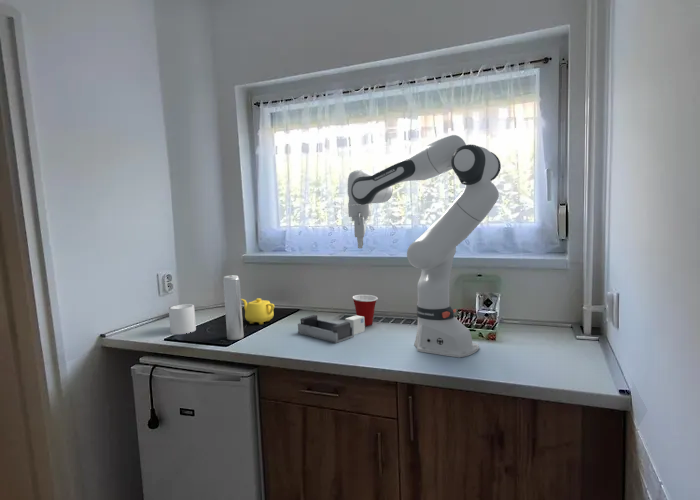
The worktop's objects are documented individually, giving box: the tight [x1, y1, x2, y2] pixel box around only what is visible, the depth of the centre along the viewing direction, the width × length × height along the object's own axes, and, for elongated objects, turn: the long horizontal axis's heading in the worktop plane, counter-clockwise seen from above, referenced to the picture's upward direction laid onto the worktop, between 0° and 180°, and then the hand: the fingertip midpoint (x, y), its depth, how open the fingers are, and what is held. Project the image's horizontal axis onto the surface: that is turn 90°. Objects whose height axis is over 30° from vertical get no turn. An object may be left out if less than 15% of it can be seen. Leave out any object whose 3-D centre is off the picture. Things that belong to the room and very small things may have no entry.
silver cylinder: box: [222, 274, 245, 341], centre depth 174 cm, size 6×6×25 cm
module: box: [344, 314, 366, 336], centre depth 176 cm, size 5×6×6 cm
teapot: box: [241, 297, 275, 325], centre depth 198 cm, size 18×11×11 cm, turn 65°
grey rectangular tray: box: [297, 314, 355, 344], centre depth 174 cm, size 22×10×6 cm, turn 46°
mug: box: [168, 303, 197, 335], centre depth 189 cm, size 14×10×11 cm
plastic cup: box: [352, 294, 379, 327], centre depth 186 cm, size 11×11×12 cm
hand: (360, 247), depth 174 cm, fingers open, 8 cm apart
